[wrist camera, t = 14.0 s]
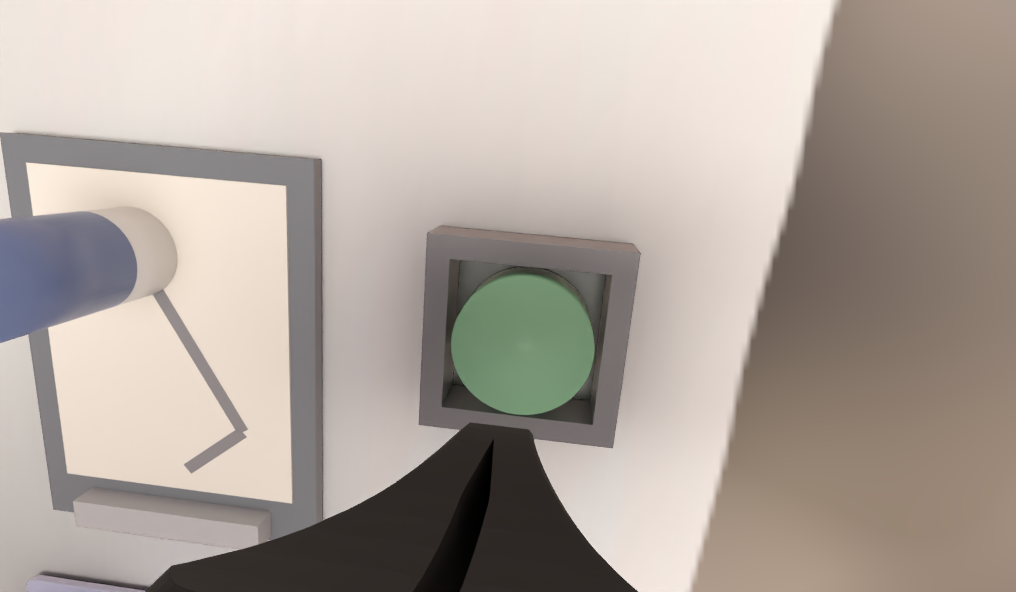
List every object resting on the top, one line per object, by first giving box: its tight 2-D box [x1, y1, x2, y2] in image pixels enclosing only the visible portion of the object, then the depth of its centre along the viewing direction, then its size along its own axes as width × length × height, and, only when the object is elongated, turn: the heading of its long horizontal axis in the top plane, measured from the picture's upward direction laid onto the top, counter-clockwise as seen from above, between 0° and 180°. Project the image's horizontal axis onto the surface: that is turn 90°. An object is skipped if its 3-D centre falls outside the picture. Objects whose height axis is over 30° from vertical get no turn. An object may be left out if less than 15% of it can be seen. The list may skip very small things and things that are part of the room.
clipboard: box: [0, 132, 322, 549], centre depth 22 cm, size 16×12×2 cm
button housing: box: [419, 226, 641, 448], centre depth 20 cm, size 7×7×2 cm
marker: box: [0, 207, 177, 343], centre depth 18 cm, size 3×3×7 cm
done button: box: [451, 267, 595, 415], centre depth 19 cm, size 5×5×2 cm
